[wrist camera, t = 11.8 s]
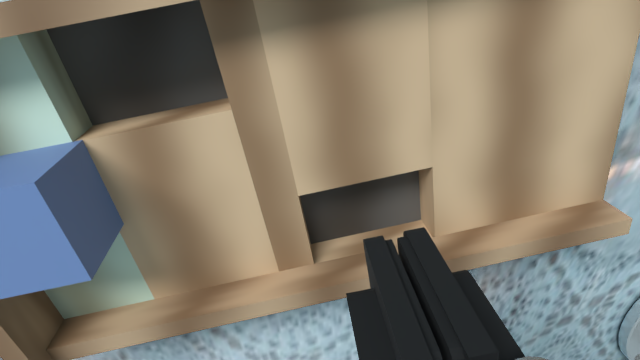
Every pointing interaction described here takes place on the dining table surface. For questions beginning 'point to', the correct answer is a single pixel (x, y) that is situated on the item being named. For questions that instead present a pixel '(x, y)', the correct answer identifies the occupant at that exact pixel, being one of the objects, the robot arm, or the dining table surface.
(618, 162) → the dining table surface
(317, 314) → the dining table surface
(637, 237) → the dining table surface
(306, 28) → the trap board
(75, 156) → the blue block
